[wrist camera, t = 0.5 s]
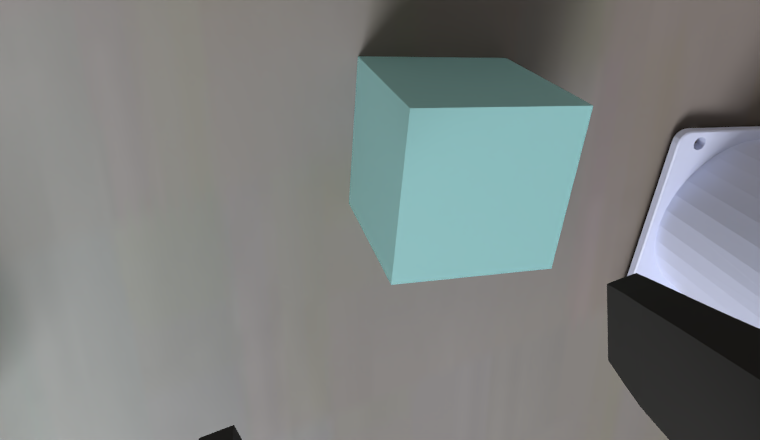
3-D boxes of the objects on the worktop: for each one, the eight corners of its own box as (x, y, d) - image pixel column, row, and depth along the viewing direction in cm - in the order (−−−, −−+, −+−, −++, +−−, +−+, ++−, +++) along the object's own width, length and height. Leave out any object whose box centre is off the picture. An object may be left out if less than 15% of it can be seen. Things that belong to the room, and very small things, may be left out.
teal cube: (505, 57, 19) (593, 105, 15) (480, 194, 22) (551, 268, 18) (357, 55, 18) (409, 108, 14) (348, 202, 20) (391, 284, 16)
